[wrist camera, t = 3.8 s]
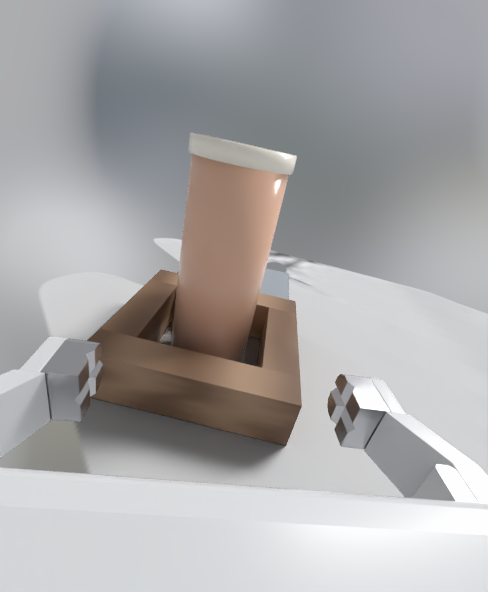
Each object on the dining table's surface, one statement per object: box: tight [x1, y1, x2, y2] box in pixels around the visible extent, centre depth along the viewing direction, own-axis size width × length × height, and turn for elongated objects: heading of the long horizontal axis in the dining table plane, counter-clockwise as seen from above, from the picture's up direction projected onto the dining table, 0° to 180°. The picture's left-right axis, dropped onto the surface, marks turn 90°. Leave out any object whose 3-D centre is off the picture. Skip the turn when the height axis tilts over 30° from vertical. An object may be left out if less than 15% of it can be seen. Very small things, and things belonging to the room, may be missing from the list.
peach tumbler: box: [171, 133, 297, 363], centre depth 23 cm, size 9×6×16 cm
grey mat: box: [177, 269, 289, 300], centre depth 40 cm, size 14×12×1 cm
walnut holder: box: [87, 270, 302, 446], centre depth 25 cm, size 14×14×4 cm
